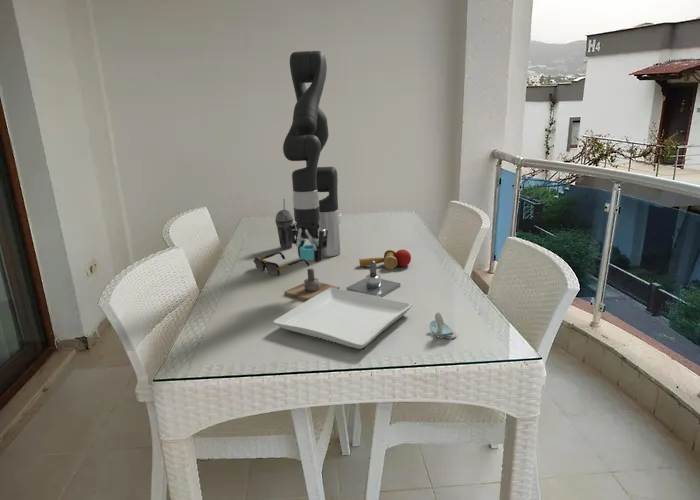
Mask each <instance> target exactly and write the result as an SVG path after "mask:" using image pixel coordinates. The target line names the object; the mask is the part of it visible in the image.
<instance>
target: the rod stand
mask: <svg viewBox="0 0 700 500" xmlns="http://www.w3.org/2000/svg"><path fill="white" fill-rule="evenodd" d="M329 288H336V289H340V287H339V286H336V285H332V284H328V283H324V282H321V281H319V278H317V277H315V269H314V268H307V278H306V279H304V282H303V283H302V284H299V285H297V286H295V287H291V288H289V289H287V290H285V291H284V295H285V296H287V297H291V298H295V299H297V300H301V301H304V302H306V301H307V300H309V299H311V298H313V297H314V296H316V295H318V294H320V293H322V292H324V291H325V290H327V289H329Z"/></svg>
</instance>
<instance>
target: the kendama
mask: <svg viewBox="0 0 700 500" xmlns="http://www.w3.org/2000/svg"><path fill="white" fill-rule="evenodd" d="M411 260H412V255H411V253H410V251H408V250H406V249H399V250H397V251H395V250H393V249H387V250H386V251H385V252H384V253H383V257H367V258H359V259H358V261H359V266H360V267H359V268H364V267H368V266H369V267H370V262H371V261H375V262H376V265H378V264H382V263H383V266H384V268H386V269H387V270H393V269H395V268H396V267H397V266H399V267H406V266H408V265H409V264H410V263H411Z"/></svg>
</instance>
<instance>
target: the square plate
mask: <svg viewBox="0 0 700 500" xmlns="http://www.w3.org/2000/svg"><path fill="white" fill-rule="evenodd" d="M412 308H413V304H412V303H409V302H404V301H400V300H395V299H391V298H386V297H384V296H382V297H378V296H374V295H369V294H364V293H359V292H353V291H347V289H341V288H339V289H336V288H329V289H327V290H325V291H324V292H322V293H320V294H318V295H316V296H314V297H313V298H311V299H309V300H307V301H304V302H302V303H300V304H299V305H297V306H296V307H294V308H292V309H291V310H288V311H287V312H286V313H284V314H283V315H281V316H279V317H277V318H275V319H274V320H273V321H272V323H273V324H275V325H276V326H278V327H280V328H282V329H284V330H287V331H290V332H295V333H299V334H302V335H305V334H306V336H309V335H310V336H309V337H313V336H314V337H313V338H316V337H318V338H317V339H320V338H322V339H321V340H324V339H325V340H324V341H328V340H329V341H328V342H331V341H332V343H335V342H336V343H335V344H340V345H341V346H346V347H350V348H353V349H360V350H361V349H363V348H364V347H366V346H368V345H369V344H370V343H371V342H372V341H373V340H374V339H375V338H377V337H378V336H379V335H380V334H381V333H382V332H383V331H385V330H386V329H387V328H389V327H390V326H391V325H393V324H395V323H396V322H397V321H398V320H399V319H401V318H402V317H403V316H404V315H405V314H406V313H407V312H409V310H410V309H412Z"/></svg>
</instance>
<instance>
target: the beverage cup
mask: <svg viewBox="0 0 700 500" xmlns="http://www.w3.org/2000/svg"><path fill="white" fill-rule="evenodd" d="M285 203H286V199H285V198H283V209H281V210H278V212H277V213H276V216H275V221H274V222H275V224H276V229H277V235H278V241H279V246H280V249H281V250H290V248H291V249H292V248H293V243H292V240H291V235H290V230H289V225H291V224H294V216H293V214H292V212H290V211H289V210H286V204H285Z"/></svg>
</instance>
